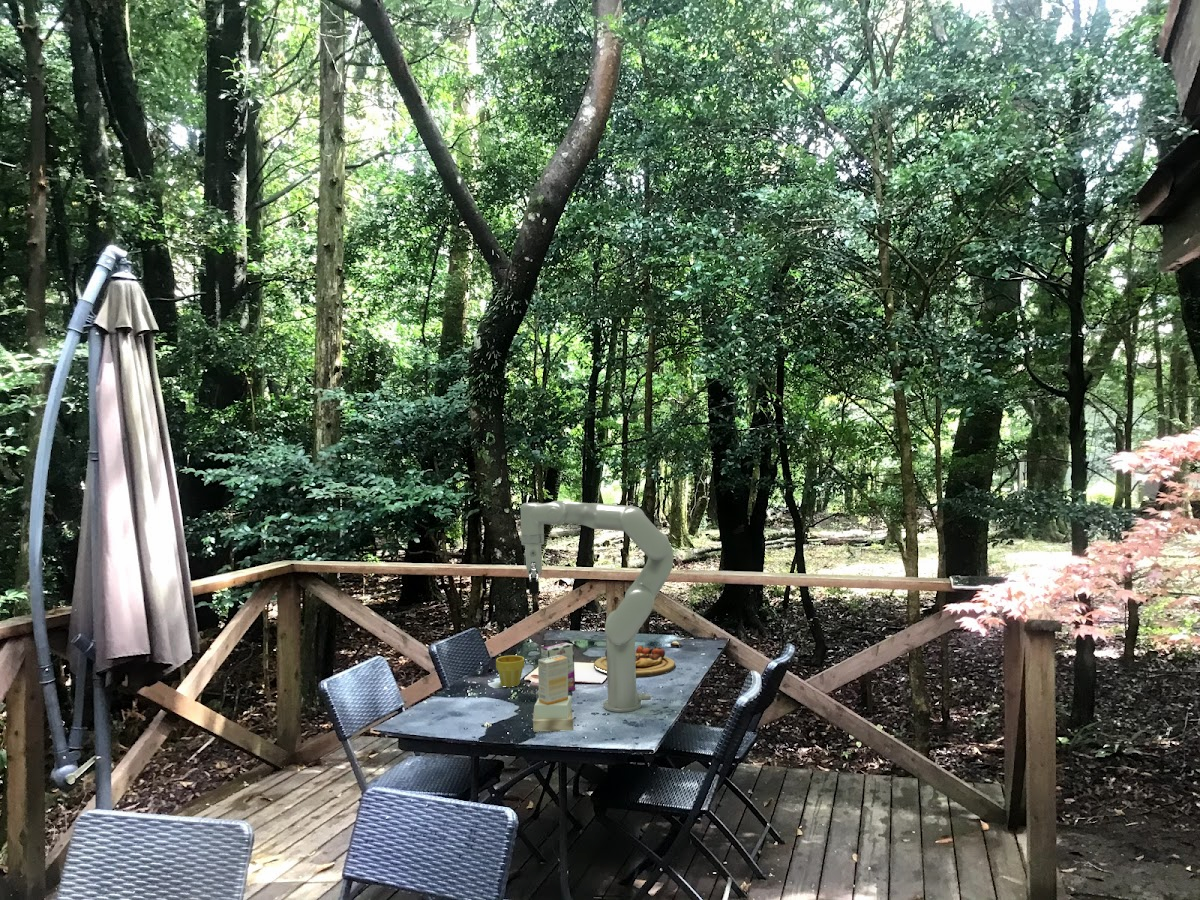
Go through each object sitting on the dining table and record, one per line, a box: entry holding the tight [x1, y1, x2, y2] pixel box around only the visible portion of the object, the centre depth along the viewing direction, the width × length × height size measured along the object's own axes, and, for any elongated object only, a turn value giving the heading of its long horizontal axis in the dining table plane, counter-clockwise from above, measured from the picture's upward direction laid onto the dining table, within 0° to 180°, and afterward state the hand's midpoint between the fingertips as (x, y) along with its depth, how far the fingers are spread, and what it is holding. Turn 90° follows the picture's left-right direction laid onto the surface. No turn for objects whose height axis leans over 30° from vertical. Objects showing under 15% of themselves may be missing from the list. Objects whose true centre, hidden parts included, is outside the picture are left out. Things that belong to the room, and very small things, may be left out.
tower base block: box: [532, 708, 574, 733], centre depth 239 cm, size 12×12×4 cm
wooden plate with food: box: [593, 644, 676, 678], centre depth 305 cm, size 32×32×8 cm
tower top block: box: [533, 695, 573, 719], centre depth 239 cm, size 10×10×4 cm
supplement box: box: [537, 655, 569, 705], centre depth 239 cm, size 8×5×13 cm, turn 129°
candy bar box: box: [540, 642, 576, 693], centre depth 273 cm, size 11×5×16 cm, turn 130°
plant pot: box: [495, 654, 525, 687], centre depth 283 cm, size 10×10×10 cm
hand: (533, 591), depth 257 cm, fingers open, 9 cm apart
